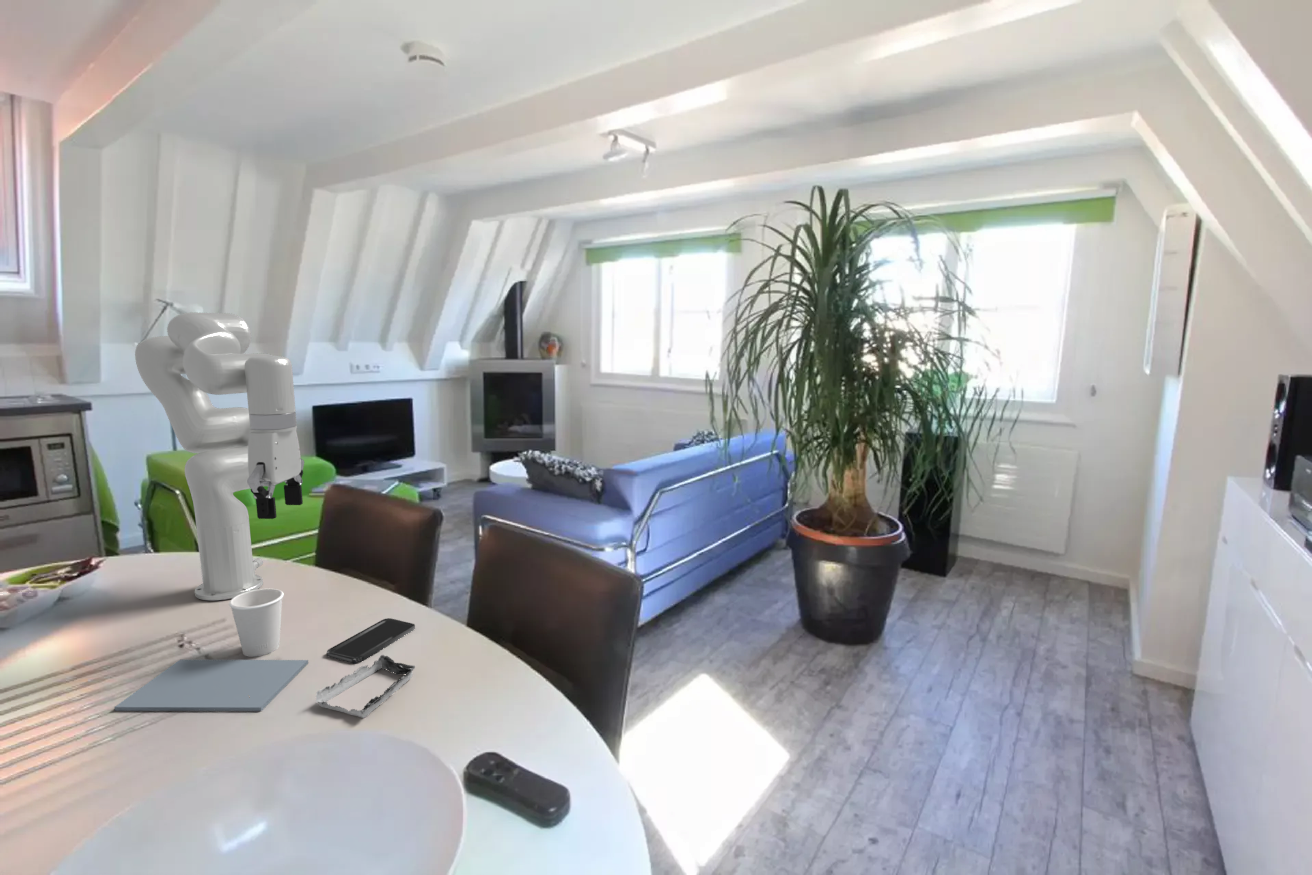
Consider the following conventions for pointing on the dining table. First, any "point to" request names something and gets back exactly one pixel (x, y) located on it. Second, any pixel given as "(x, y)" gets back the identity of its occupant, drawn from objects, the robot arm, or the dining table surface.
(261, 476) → the robot arm
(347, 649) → the phone
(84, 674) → the dining table surface
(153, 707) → the slate mat
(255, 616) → the dixie cup
